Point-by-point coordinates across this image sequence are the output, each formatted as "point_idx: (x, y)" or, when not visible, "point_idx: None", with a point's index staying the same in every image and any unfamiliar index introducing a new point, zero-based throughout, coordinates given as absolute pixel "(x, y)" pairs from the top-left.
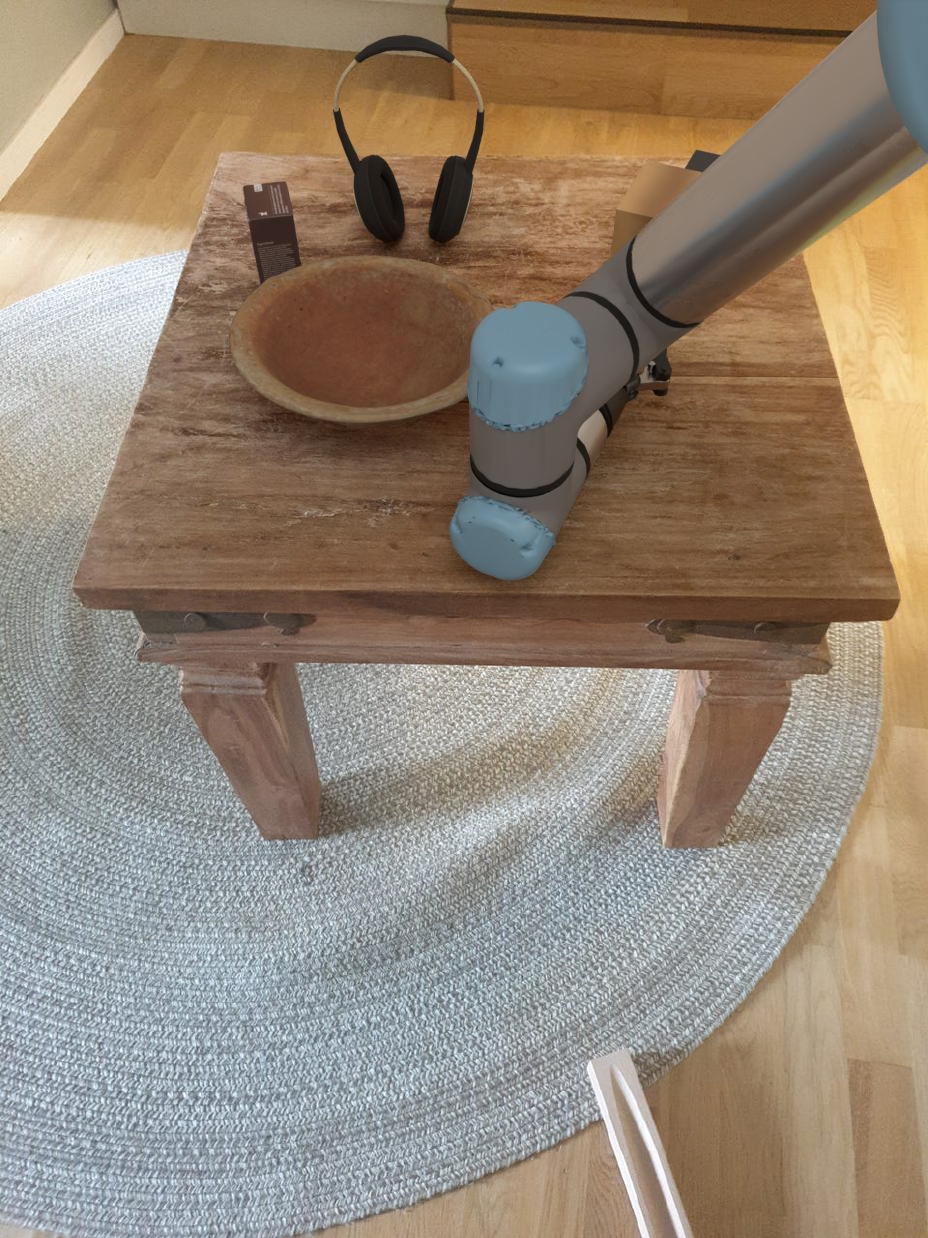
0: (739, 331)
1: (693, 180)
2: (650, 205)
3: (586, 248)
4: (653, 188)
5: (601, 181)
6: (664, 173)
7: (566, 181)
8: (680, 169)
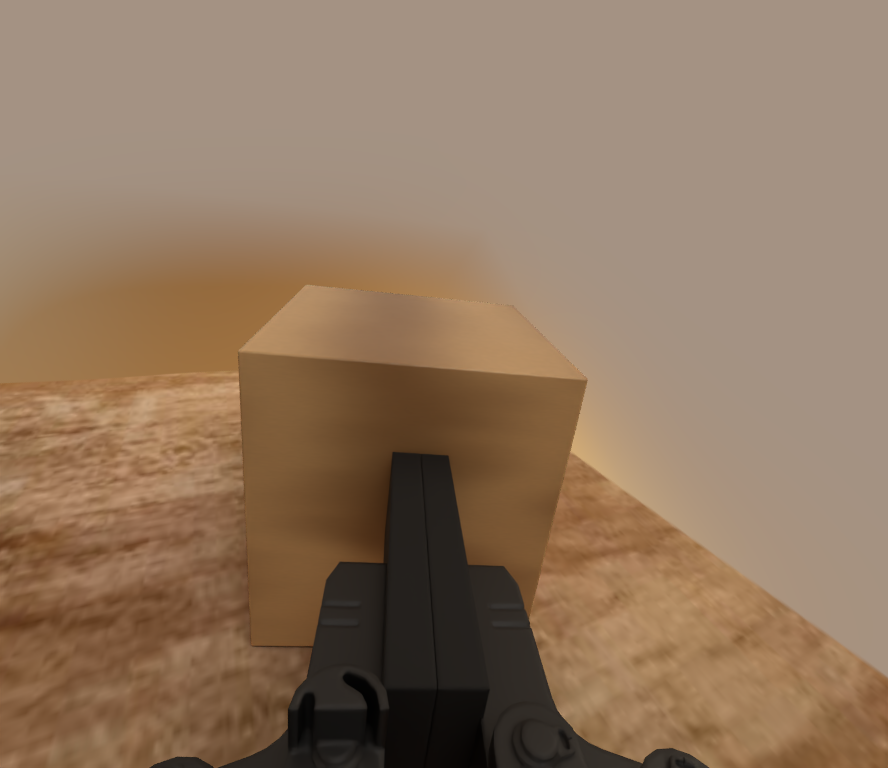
0: (640, 634)
1: (431, 306)
2: (358, 340)
3: (190, 498)
4: (346, 314)
5: (221, 387)
6: (358, 298)
7: (154, 392)
8: (389, 295)
